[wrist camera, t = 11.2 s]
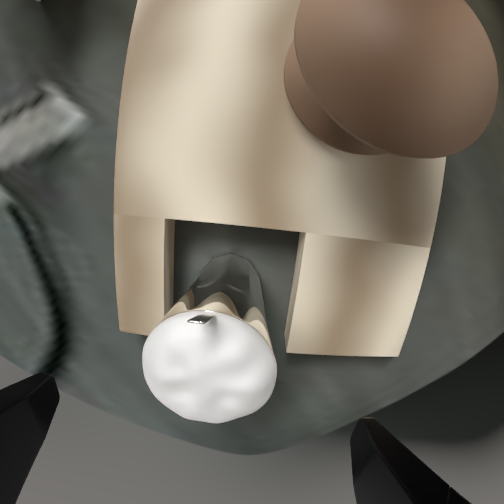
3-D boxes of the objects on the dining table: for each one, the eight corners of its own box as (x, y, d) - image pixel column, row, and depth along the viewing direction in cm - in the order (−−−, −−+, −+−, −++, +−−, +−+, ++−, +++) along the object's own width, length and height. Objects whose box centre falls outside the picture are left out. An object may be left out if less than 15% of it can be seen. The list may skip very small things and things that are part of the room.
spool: (426, 37, 12) (490, 0, 6) (419, 167, 14) (492, 179, 8) (290, 5, 12) (303, -63, 6) (276, 142, 14) (285, 135, 8)
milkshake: (276, 229, 17) (294, 330, 7) (267, 320, 19) (269, 462, 9) (190, 222, 17) (108, 309, 7) (189, 313, 19) (134, 444, 9)
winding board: (432, 20, 13) (448, 9, 11) (387, 338, 19) (398, 356, 17) (156, -17, 13) (145, -32, 11) (131, 314, 19) (120, 330, 17)
